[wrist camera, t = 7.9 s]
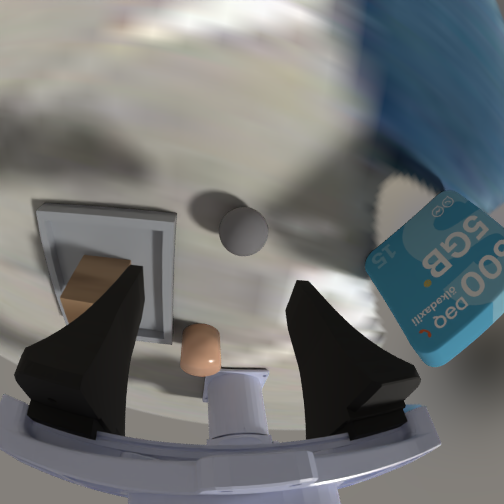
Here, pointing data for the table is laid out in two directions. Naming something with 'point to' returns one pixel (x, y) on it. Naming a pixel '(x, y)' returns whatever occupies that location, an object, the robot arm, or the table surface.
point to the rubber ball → (243, 231)
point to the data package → (442, 276)
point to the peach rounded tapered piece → (200, 350)
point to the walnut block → (90, 283)
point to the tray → (115, 253)
